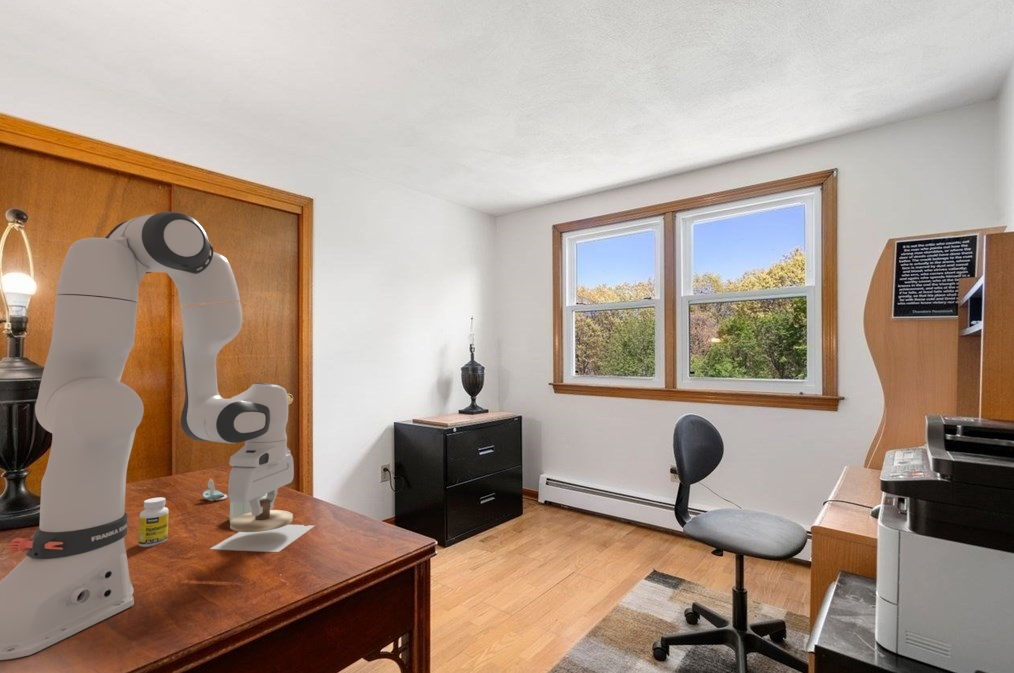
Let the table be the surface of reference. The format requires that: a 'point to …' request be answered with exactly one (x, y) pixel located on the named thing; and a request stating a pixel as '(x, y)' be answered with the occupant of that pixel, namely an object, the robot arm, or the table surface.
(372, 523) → the table surface
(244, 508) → the bowl
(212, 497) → the pacifier
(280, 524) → the lid
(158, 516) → the supplement bottle
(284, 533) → the mat
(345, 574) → the table surface
